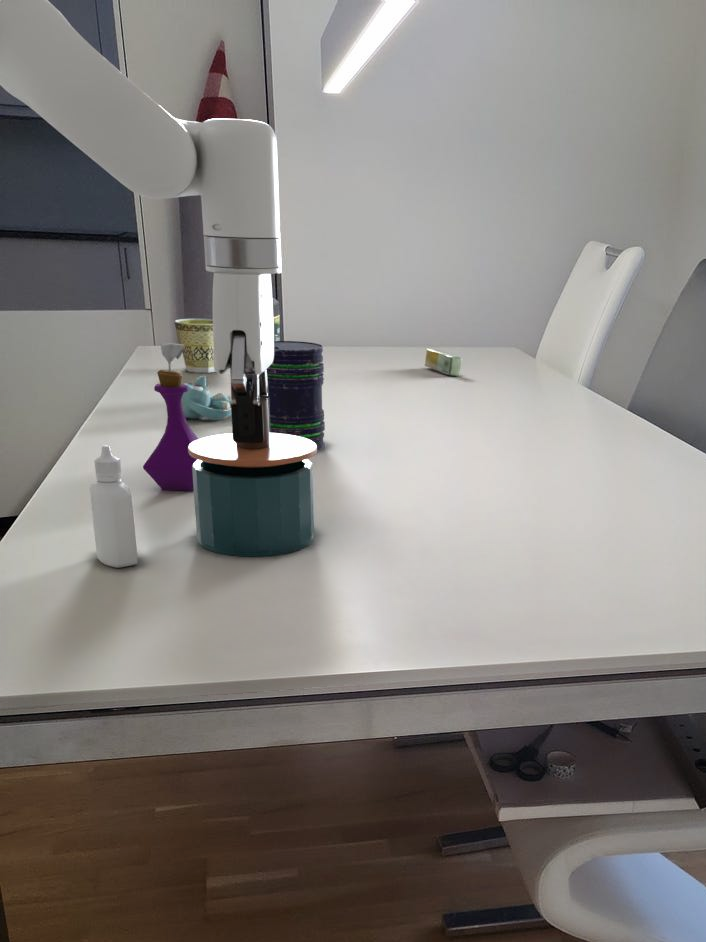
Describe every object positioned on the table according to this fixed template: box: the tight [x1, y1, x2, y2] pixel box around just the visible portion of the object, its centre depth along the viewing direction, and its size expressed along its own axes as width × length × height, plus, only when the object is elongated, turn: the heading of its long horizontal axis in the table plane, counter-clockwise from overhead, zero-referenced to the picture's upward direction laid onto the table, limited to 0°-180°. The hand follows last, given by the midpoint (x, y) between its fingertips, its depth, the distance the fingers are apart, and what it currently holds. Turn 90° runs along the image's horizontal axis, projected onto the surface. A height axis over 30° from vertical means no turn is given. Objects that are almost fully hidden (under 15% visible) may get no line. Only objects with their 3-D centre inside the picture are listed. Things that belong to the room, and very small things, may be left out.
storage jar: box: [267, 340, 326, 452], centre depth 155 cm, size 10×10×15 cm
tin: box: [192, 458, 315, 558], centre depth 114 cm, size 13×13×8 cm
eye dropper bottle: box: [89, 444, 139, 569], centre depth 105 cm, size 4×6×12 cm
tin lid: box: [188, 397, 318, 467], centre depth 111 cm, size 14×14×6 cm
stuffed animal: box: [181, 375, 232, 422], centre depth 174 cm, size 11×7×12 cm
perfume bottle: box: [142, 342, 199, 492], centre depth 131 cm, size 8×8×18 cm
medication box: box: [424, 348, 463, 377], centre depth 229 cm, size 12×3×4 cm, turn 31°
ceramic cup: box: [174, 318, 217, 374], centre depth 218 cm, size 13×10×10 cm
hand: (252, 435), depth 111 cm, fingers closed on tin lid, 3 cm apart
